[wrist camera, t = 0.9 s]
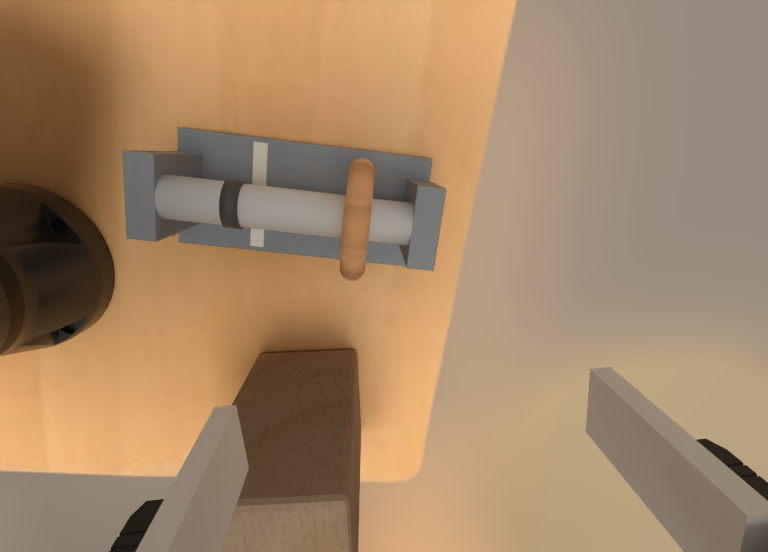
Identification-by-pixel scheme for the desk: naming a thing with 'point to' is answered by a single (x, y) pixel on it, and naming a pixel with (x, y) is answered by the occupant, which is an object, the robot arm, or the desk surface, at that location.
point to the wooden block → (299, 454)
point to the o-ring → (357, 218)
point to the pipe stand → (279, 197)
